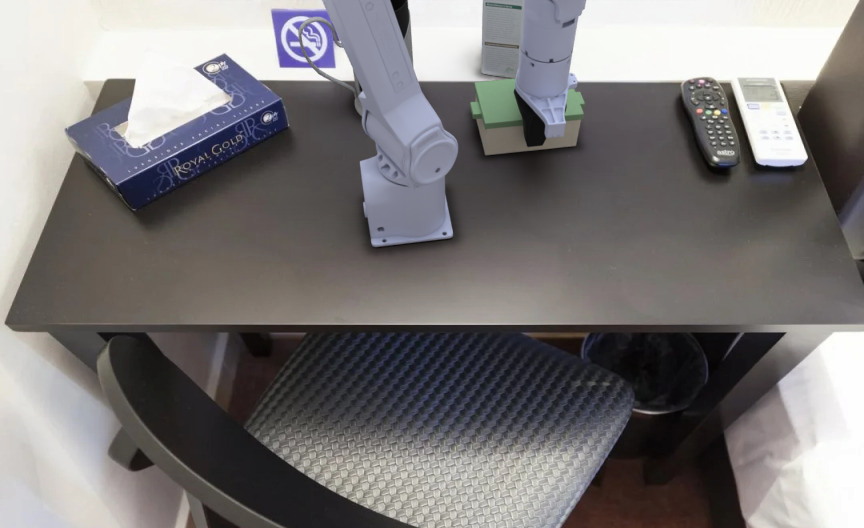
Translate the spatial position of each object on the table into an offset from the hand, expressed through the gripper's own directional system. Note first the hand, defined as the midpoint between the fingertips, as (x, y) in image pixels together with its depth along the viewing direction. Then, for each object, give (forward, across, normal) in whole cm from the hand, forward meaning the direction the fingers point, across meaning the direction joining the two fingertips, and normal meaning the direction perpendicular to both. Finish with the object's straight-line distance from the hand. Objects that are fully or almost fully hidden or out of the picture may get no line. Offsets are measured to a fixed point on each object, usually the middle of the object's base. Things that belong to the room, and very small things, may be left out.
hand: (534, 143), depth 83 cm
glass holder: (+3, +13, +20) cm, 24 cm away
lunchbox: (0, +5, 0) cm, 5 cm away
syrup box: (+3, +19, 0) cm, 19 cm away
